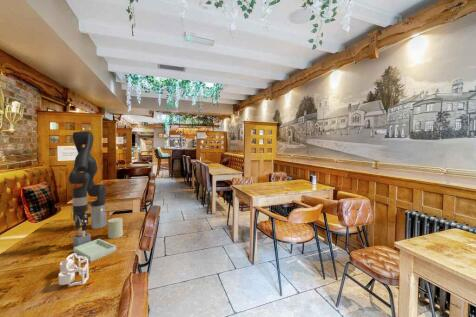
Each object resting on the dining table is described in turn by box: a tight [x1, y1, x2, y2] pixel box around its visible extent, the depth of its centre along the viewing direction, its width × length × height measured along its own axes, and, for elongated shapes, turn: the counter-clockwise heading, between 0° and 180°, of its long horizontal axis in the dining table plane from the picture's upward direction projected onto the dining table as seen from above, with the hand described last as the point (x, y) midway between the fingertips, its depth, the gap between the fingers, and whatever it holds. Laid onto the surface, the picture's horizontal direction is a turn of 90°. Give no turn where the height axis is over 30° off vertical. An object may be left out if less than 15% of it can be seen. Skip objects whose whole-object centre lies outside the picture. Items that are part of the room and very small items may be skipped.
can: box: [107, 217, 124, 240], centre depth 146 cm, size 9×9×12 cm
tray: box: [73, 238, 117, 263], centre depth 124 cm, size 14×20×3 cm
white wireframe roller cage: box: [58, 252, 90, 287], centre depth 101 cm, size 20×11×7 cm, turn 38°
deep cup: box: [72, 231, 92, 248], centre depth 132 cm, size 7×7×6 cm
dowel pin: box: [77, 227, 86, 238], centre depth 132 cm, size 3×3×10 cm
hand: (80, 229), depth 131 cm, fingers open, 8 cm apart
